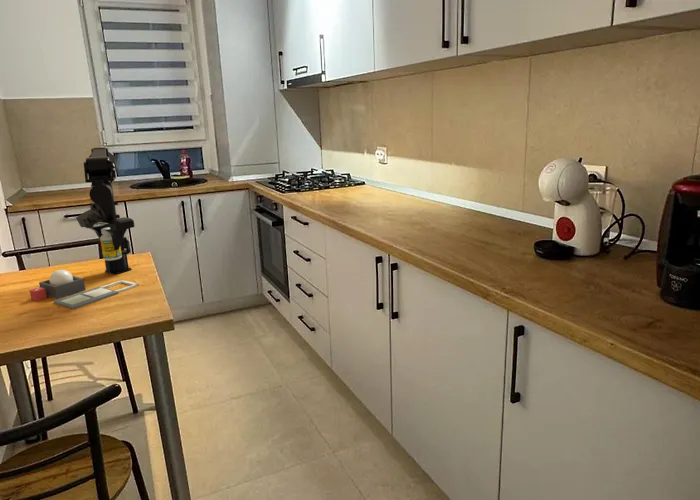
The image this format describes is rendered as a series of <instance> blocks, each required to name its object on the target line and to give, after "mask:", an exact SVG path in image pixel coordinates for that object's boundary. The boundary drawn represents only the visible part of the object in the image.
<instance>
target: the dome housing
mask: <svg viewBox="0 0 700 500" xmlns="http://www.w3.org/2000/svg"><path fill="white" fill-rule="evenodd" d="M72 277H73V280H74V281H71V282H68V283H65V284H61V285H58V286H54V285H51V284H50V281H49V280H50V279H46V280H43V281H39V282H38V284H39V286H37V287H35V288H31V289H29V294H30V295H29V296H30V299H31V300H32V301H35V302H38V301H41V300H45V299H48V297H49V298H53V299H56V300H59V299H62V298H65V297H68V296H71V295H74V294H77V293H80V292H84V291H87V290H86V284H85V280H84V279H85V278H83V277H79V276H75V275H72Z"/></svg>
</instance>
